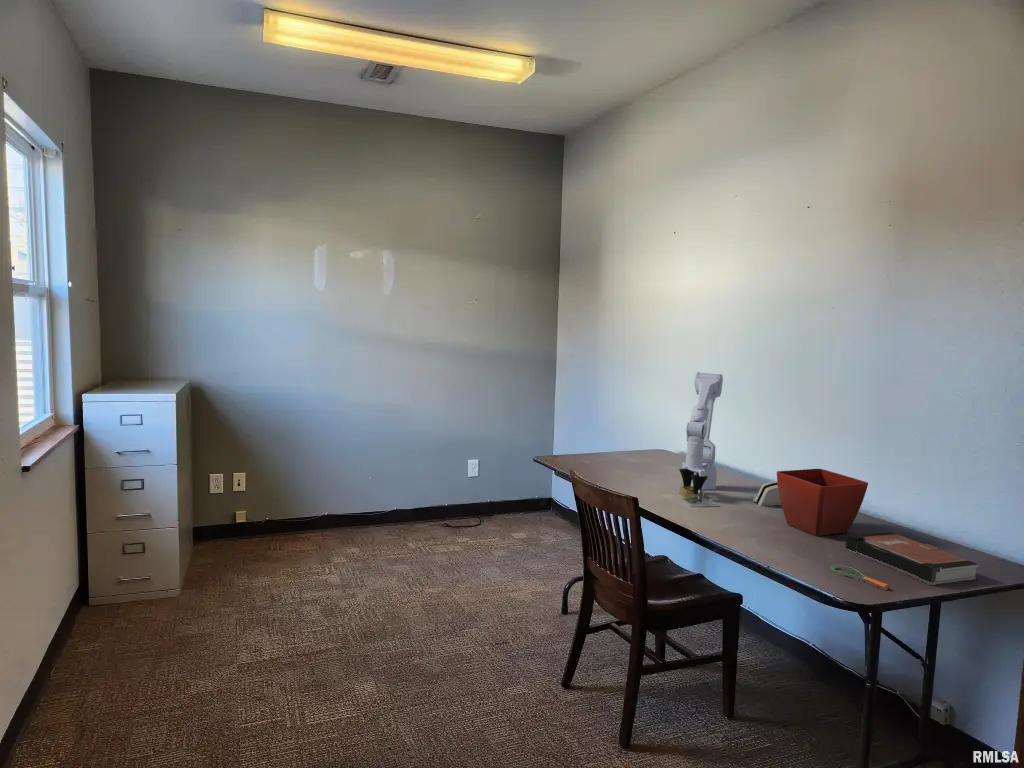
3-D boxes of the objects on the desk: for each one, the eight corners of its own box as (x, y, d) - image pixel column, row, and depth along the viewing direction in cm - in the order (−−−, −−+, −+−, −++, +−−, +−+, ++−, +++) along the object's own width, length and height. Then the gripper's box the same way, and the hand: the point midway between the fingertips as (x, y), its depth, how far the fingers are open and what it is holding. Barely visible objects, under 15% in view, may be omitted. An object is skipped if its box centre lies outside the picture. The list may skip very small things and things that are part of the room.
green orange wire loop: (824, 570, 175) (825, 564, 175) (840, 568, 178) (841, 561, 177) (878, 593, 161) (879, 586, 161) (894, 590, 164) (895, 583, 164)
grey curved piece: (792, 501, 243) (800, 478, 238) (800, 509, 238) (808, 485, 234) (751, 501, 239) (759, 478, 235) (758, 509, 235) (766, 486, 231)
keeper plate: (707, 500, 237) (708, 487, 237) (717, 506, 231) (718, 492, 230) (681, 501, 235) (682, 487, 235) (690, 506, 229) (691, 492, 228)
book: (979, 581, 173) (981, 562, 172) (930, 587, 167) (932, 568, 166) (890, 546, 197) (892, 530, 197) (845, 551, 191) (847, 534, 191)
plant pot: (817, 541, 197) (822, 485, 196) (770, 522, 215) (774, 470, 213) (864, 536, 205) (870, 482, 203) (815, 518, 222) (820, 468, 221)
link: (697, 494, 246) (697, 486, 246) (703, 497, 241) (704, 489, 241) (679, 494, 245) (680, 486, 245) (685, 497, 240) (686, 489, 240)
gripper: (675, 450, 248) (672, 486, 249) (693, 458, 234) (690, 496, 235) (693, 450, 249) (690, 486, 251) (712, 458, 235) (709, 496, 236)
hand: (691, 491), depth 243 cm, fingers open, 7 cm apart
